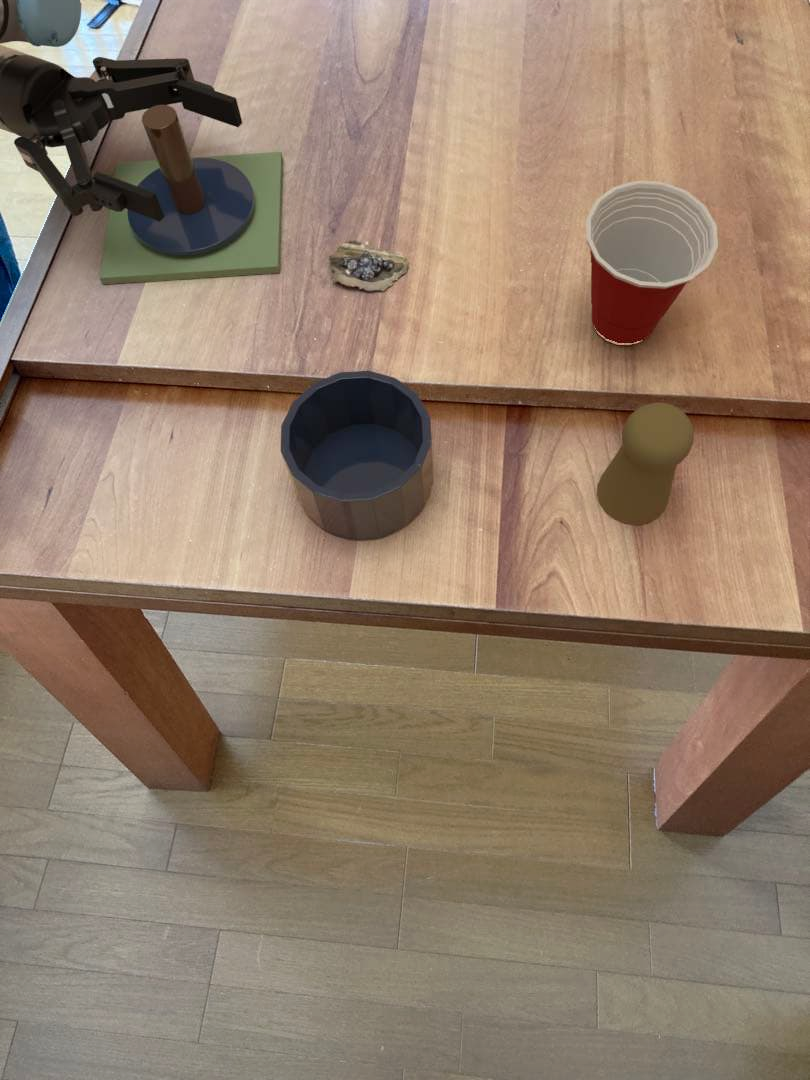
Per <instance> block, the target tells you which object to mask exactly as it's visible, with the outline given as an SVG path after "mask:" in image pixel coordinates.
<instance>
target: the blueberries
mask: <svg viewBox="0 0 810 1080" xmlns="http://www.w3.org/2000/svg"><path fill="white" fill-rule="evenodd" d="M369 243H370V242H369V241H368V240H365V242H364V243H362V241H357V240H350V239H349V240H348V241H346V242H344V243H342V244H341V245H339V246H338V247H337V249H336V250H335V251H334V253H331V254H329V255H328V260H329V261H330V263H328V266H329V268H330V269H332V270H333V273H332V274H331V275H330V276H331V277H330V280H333V281H332V282H333V283H337V282H339V283H340V284H341V285H344V286H346V287H353V288H354V287H357V288H359V290H362V289H364V290H365V291H367V292H373V291H381V292H385V291H386V290H387V289H388V288H389V287H392V286H393V284H394V281H398V280H399V278H401V277H402V276H403V275H405V274H406V273H407V272H408V269H409V262H408V261H407V258H406V256H404V255H403V254H402V253H401V252H399V251H395V250H393V251H391V250H388V249H385V250H378V249H377V248H378V247H379V246H380V244H377V245H375V246H373V245H370V244H369Z"/></svg>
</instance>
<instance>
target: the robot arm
mask: <svg viewBox="0 0 810 1080" xmlns="http://www.w3.org/2000/svg"><path fill="white" fill-rule="evenodd" d="M81 17H82V2H81V0H0V129H1V130H3V131H5V132H8V133H11V134H14V135H16V136H18V137H16V138H15V139H14V140H13V144H14V146H15V148H16V150H17V151H18V153H19V155H20V157H21V158H22V160H23V162H24V164H25V165H26V167H29V168H30V169H32V170H34V171H36V172H37V173H40V175H41V177H43V179H44V180H45V182H46V183H47V184H48V186H49V187H50V188H51V190H52V191H53V192H54V194H55V195H56V197H58V199H59V201H60V202H61V203H62V204H63V206H64V207H65V208H66V209H67V211H68V212H69V214H70V215H71V216H74V217H78V216H80V215H81V214H82V213H83V212H84V209H83V208H84V207H86V206H87V205H88V206H89V208H90V210H91V211H93V212H99V211H101V210H102V209H103V208H105V209H108V210H109V209H111V210H114V211H116V212H122V211H123V210H124V209H128V210H131V211H133V212H136V213H138V214H141V215H144V216H146V217H149V218H151V219H154V220H156V221H159V222H160V221H161V220H162V219H163V217H164V214H163V212H162V209H161V207H160V204H159V202H158V199H157V197H156V194H155V193H153V192H151V191H148V190H146V189H143V188H140V187H138V186H135V185H132V184H130V183H127V182H124V181H122V180H119V179H116V178H114V176H111V175H109V174H106V173H103V172H101V171H96V172H95V173H94V174H92V171H91V169H90V165H89V162H88V160H87V154H86V152H85V148H84V146H83V144H84V143H87V142H89V141H90V142H93V141H94V140H95V139H96V137H97V136H98V134H99V132H100V131H101V130H102V129H104V128H105V127H106V126H107V125H108V124H109V123H110V122H111V121H116V120H122V119H123V118H124V117H125V115H126V114H129V113H134V112H137V111H138V112H139V111H143V110H148V109H149V108H151V107H153V106H156V105H168V106H171V105H173V104H180V103H181V104H182V108H183V109H184V110H187V111H190V112H192V113H195V114H198V115H201V116H203V117H207V118H210V119H212V120H216V121H218V122H220V123H224V124H226V125H230V126H232V127H236V128H240V126H241V125H242V124H243V120H242V115H241V112H240V108H239V105H238V99H237V98H236V97H235V96H232V95H228V94H226V93H222V92H219V91H216V90H215V88H214V87H213V86H212V84H211V85H210V84H207V83H206V82H205V83H204V82H202V81H198V80H195V77H194V73H193V70H192V67H191V64H190V60H189V59H188V58H183V57H181V58H180V57H179V58H178V57H177V58H150V59H146V58H145V59H117V60H116V59H112V58H108V57H107V58H106V57H103V56H97V57H95V58H93V59H92V64H93V68H94V70H93V72H92V73H91V74H90V76H89V77H87V76H84V77H79V76H78V77H77V76H74V75H72V74H71V73H70V72H69V71H68V70H66V69H65V68H63V67H62V66H61V65H59V64H56V63H54V62H51V61H48V60H46V59H43V58H39V57H37V56H33V55H31V54H28V53H25V52H23V51H20V50H17V49H13V48H11V47H8V46H6V45H3V44H6V43H12V42H20V43H21V42H23V43H28V44H31V45H32V46H33V47H34V46H35V47H42V46H43V47H51V48H53V47H54V48H60V47H64V46H66V45H67V44H69V43H71V41H72V40H73V38H74V37H75V36H76V34H77V32H78V30H79V27H80V23H81V19H82V18H81ZM104 94H106V95H107V96H108V97H109V99H110V100H109V101H110V102H111V105H112V107H109V106H108V104H107V101H106V99H105V97H104V96H103V95H104ZM46 147H47V148H58V147H65V149H66V153H67V155H68V158H69V161H70V165H71V167H72V171H73V174H74V178H75V181H76V184H74V185H72V186H71V185H70V183H69V181H67V179H66V178H65V176H64V175H63V174H62V173H61V171H60V170H59V169H58V167H57V166H56V165H55V164H54V162H53V161H52V160H51V158H50V157H49V156H48V151H47V148H46Z"/></svg>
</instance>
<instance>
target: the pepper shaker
mask: <svg viewBox="0 0 810 1080" xmlns="http://www.w3.org/2000/svg"><path fill="white" fill-rule="evenodd" d="M694 434H695V429H694V427H693V424H692V421H691V419H690V418H689V417H688V416H687V414H686V413H685V412H684V411H683V410H682V409H680V408H678V407H677V406H675V405H673V404H670V403H666V402H652V403H647V404H644V405H642V406H640V407H638V408H636V409H635V410H634V411H633V412H632V413H631V414H630V415H629V416H628V417H627V419H626V421H625V423H624V425H623V428H622V433H621V443H622V445H621V446H620V448H619V449H618V450H617V452H616V454H615V455H614V457H613V458H612V459H611V461H610V463H609V464H608V465H607V467H606V468H605V470H604V471H603V473H602V475H601V476H600V478H599V480H598V482H597V487H596V496H597V499H598V503H599V505H600V506H601V509H603V511H604V513H606V514H607V515H608V516H609V517H611V518H612V519H613V520H614V521H617V522H619V523H622V524H624V525H631V526H632V525H633V526H640V525H646V524H649V523H652V522H653V521H656V520H657V519H658V518H659V517H660V516H661V515H662V514H664V512H665V511H666V507H667V505H668V503H669V498H670V494H671V490H672V486H673V482H674V478H675V474H676V470H677V466H678V465H680V464H681V463H682V462H683V461H684V460H685V459H686V458H687V457H688V456H689V454H690V452H691V450H692V447H693V445H694V439H695V436H694Z"/></svg>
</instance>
